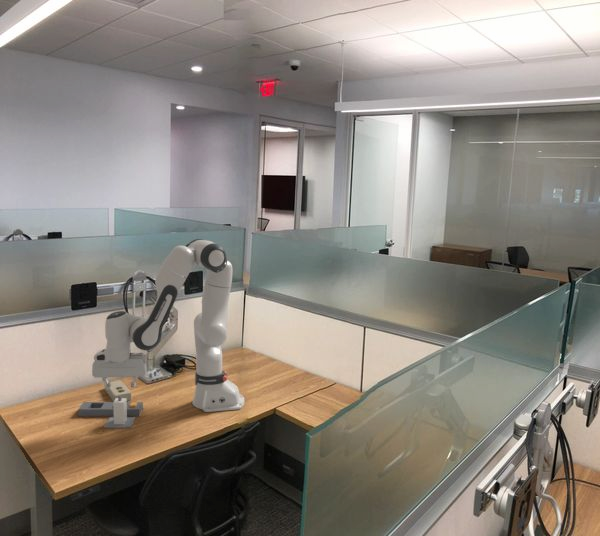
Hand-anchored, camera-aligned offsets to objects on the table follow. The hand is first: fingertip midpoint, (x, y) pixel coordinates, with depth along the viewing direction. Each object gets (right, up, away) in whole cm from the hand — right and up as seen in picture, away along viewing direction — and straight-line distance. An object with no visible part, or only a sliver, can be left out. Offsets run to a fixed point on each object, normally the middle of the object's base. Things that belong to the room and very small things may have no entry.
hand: (120, 386), depth 201 cm
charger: (-1, -14, +2) cm, 14 cm away
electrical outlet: (-11, -11, +29) cm, 33 cm away
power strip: (-8, -13, +11) cm, 19 cm away
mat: (-1, -15, +2) cm, 15 cm away
